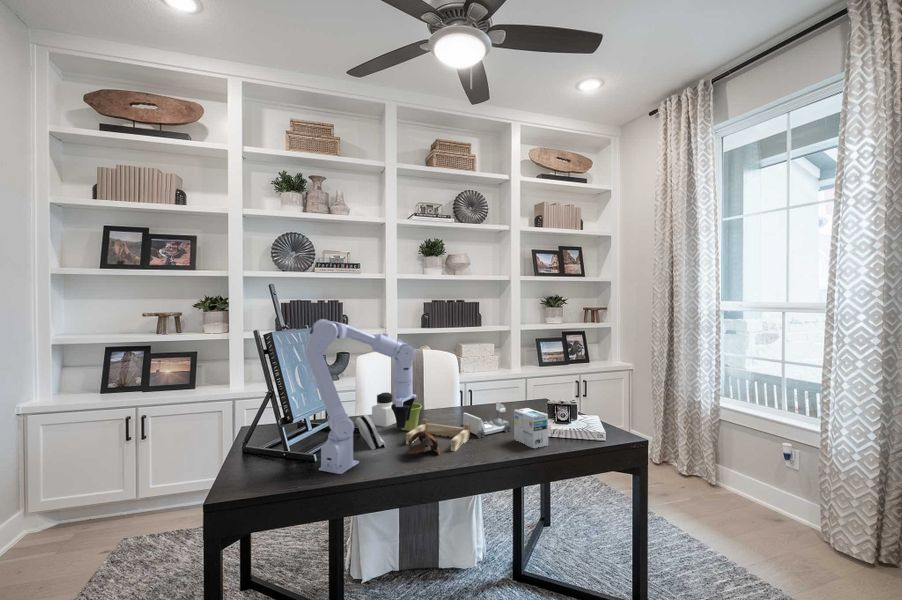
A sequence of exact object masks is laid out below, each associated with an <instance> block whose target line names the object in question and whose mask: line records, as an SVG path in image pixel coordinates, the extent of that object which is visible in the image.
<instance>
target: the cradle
mask: <svg viewBox="0 0 902 600" xmlns="http://www.w3.org/2000/svg"><path fill="white" fill-rule="evenodd" d="M421 422H422V423H421V424H420V425H418V427H416V428H415V429H413V430H412V431H407V433H406V434H405V444H406V445H408V444H409V442H408V441H409V439H410V438H411V437H412V436H413V435H414V434H416V433H418V432H421V431H426V432H427V433H428V434H430V435H432V434H435V435H434V436H439V435H441V436H440V437H447V436H449V437H448V438H452V439H450V452H456V451H457V450H459V448H461V447H462V446H463V445H464V444H465V443H467V441H469V440H470V439H471V432H470V424H465V428H463V427H460V426H453V425H445V424H437V423H430V422H429V419H428V418H423V419H422V421H421ZM469 438H470V439H469ZM417 439H418V438H416V439H415V440H414V441H415V442H416V441H418V440H419V439H418V440H417ZM414 441H413V442H412V444H413V443H415V442H414ZM463 443H464V444H463ZM462 444H463V445H462ZM461 445H462V446H461ZM460 446H461V447H460Z"/></svg>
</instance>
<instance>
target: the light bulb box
mask: <svg viewBox="0 0 902 600" xmlns="http://www.w3.org/2000/svg"><path fill="white" fill-rule="evenodd" d="M513 411H514V412H513V417H514V418H513V419H514V421H513V422H514V423H513V426H514V427H513V435H514V438H513V440H514V439H515V440H514V441H516V442H518V441H519V442H518V443H520V442H521V443H520V444H522V443H523V445H524V444H525V446H527V447H529V448H530V449H533V448H534V449H537V448H538V447H539V448H543V447H547V446H549V414H548V413H544V412H541V411H537V410H534V409H532V408H529V407H525V408H519V409H514V410H513Z"/></svg>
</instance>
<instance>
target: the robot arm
mask: <svg viewBox="0 0 902 600" xmlns="http://www.w3.org/2000/svg"><path fill="white" fill-rule="evenodd" d="M346 338H349V339H351V340H355V341H357V342H360V343H364V344H365V345H369V346H370V347H371V349H372V351H373V352H375V353H378V354H380V355H384V356H387V357H389V358H393V359H394V367H393V368H394V370H393V372H394V375H393V377H394V378H393V380H394V381H393V382H394V387H393V389H394V394H393V399H394V401H395V404H394V403H392V405H391V408H392V410H393V412H394V415H395V418H396V423H395V424H396V426H397V428H398V429H399V428H400V429H401V428H404V427H405V424H406V421H409V418H410V413H411V408H412V404H413V403H415V400H416V398H417V394H414V393H413V391H414V390H413V388H414V387H413V381H414V380H413V376H414V375H413V360H414V359H415V357H416V352H415V349H414V347H413V346H412V345H410V344H409V343H406V342H404V341H402V339H400V338H398V339H395V338H393V337H390V336H389V334H387V333H385V332H383V333H377V334H375V335H373V334H371V333H368V332H366V331H363V330H361V329H359V328H356V327H354V326H351V325H348V324H346V323H343V322H337V321H331V320H328V319H326V318H320V319H318V320H316V321H315V322H314V323H313V325H312V326H311V328H310V329H309V331H308V337H307V341H306V346H305V350H304V355H305V358H306V361H307V363H308V366H309V369H310V371H311V374H312V376H313V379H314V381H315V384H316V387H317V389H318V391H319V394H320V397H321V399H322V401H323V405H324V407H325V410H326V414H327V415H328V416H327V417H328V418H327V424H328V427H329V428H330V431H329V432H328V436H327V437H328V438H327V440H326V441H325V443H324V444H322V446H321V449H320V467H319V468H318V470H319V471H320V472H321V471H322V472H328V473H332V474H337V475H338V474H339V475H342V474H344V473H345V472H347V471H348V470H350V469H352V468H354V467H355V466H356V465H358V464H360V461H359V460H355V459H354V431H355V423H354V421H353V420H352V419H351V418H350V417H349V415H348V413H347V412H346V410H345V408H344V406H343V404H342V401H341V398H340V396H339V394H338V390H337V388H336V386H335V383H334V380H333V377H332V375H331V373H330V370H329V367H328V364H327V362H326V360H325V357H324V355H325V353H326V351H327V349H328V347H329V346H330V345H331V344H332V343H333V342H335V340H336V339H338V340H342V339H346Z"/></svg>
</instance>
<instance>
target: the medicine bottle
mask: <svg viewBox="0 0 902 600" xmlns="http://www.w3.org/2000/svg"><path fill="white" fill-rule="evenodd" d="M392 404H393V394H392V393H390V392H387V391H385V392H379V393H378V394H376V405H372V406H371V421H372V422H373V424H374V425H375V426H379V427H382V428H383V427H384V428H387V427H389V426H393V425H394V424H395V425H396V424H397V423H396V418H395V415H394V412H393V410H392V408H391V405H392Z"/></svg>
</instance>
